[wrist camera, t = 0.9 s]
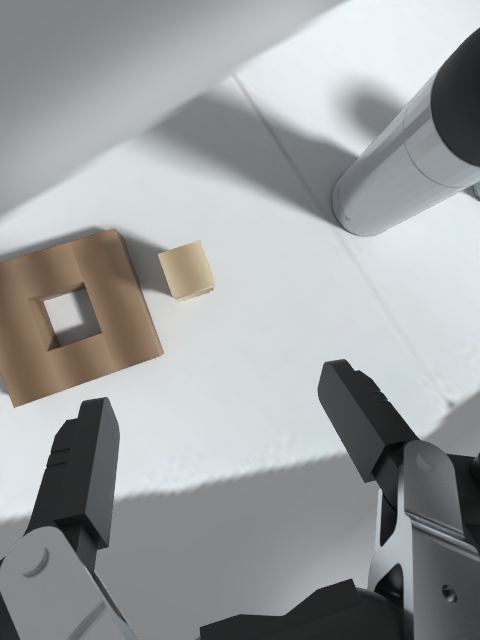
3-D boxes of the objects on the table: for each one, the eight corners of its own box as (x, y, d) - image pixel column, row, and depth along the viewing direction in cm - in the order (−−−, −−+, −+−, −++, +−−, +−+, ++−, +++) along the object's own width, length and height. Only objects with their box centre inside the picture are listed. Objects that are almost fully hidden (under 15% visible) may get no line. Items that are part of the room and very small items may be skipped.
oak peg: (201, 263, 37) (200, 240, 27) (212, 293, 37) (214, 282, 27) (170, 273, 36) (157, 253, 26) (181, 304, 37) (172, 296, 27)
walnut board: (122, 236, 36) (114, 228, 33) (163, 353, 36) (160, 356, 33) (-15, 278, 34) (-36, 273, 31) (30, 400, 34) (13, 407, 31)
